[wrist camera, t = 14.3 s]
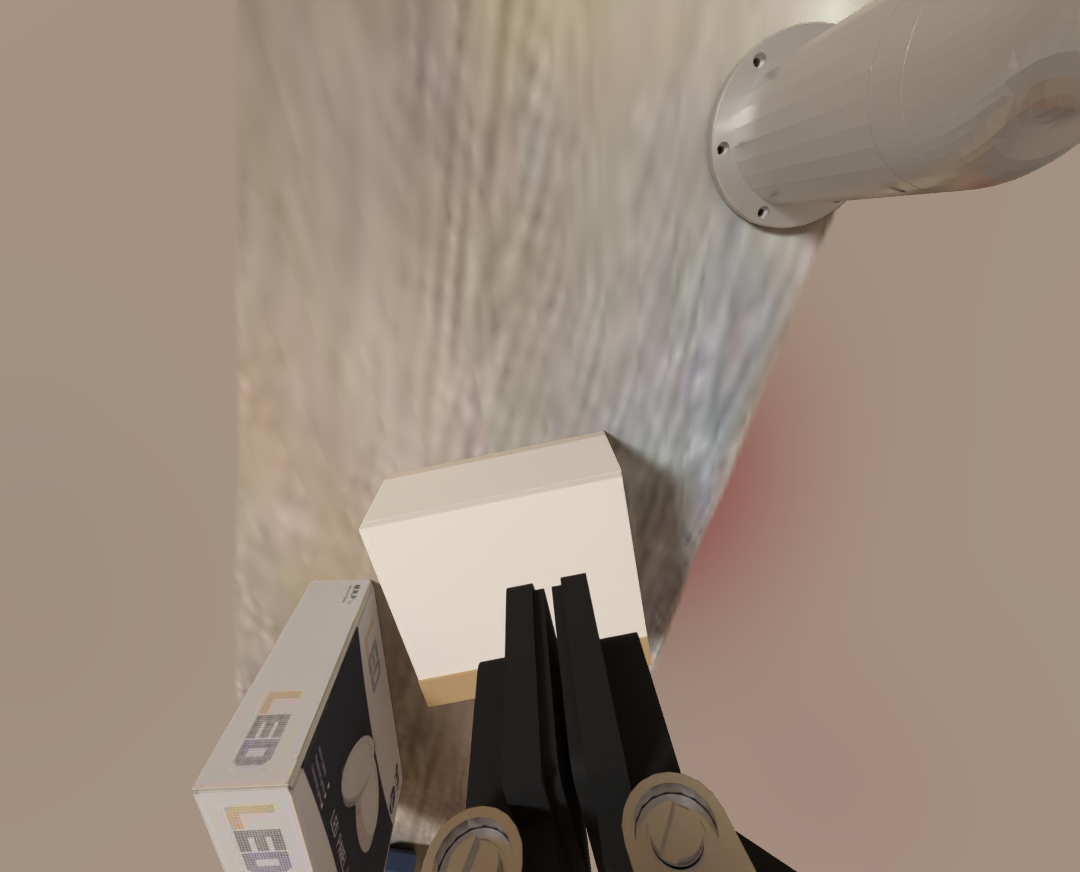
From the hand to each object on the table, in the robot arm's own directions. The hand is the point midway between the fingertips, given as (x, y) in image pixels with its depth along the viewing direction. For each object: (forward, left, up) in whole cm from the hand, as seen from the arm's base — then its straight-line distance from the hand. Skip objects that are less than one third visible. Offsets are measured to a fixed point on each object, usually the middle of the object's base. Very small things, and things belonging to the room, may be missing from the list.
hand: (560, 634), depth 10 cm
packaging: (+26, +35, -33) cm, 55 cm away
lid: (+5, +19, -24) cm, 31 cm away
